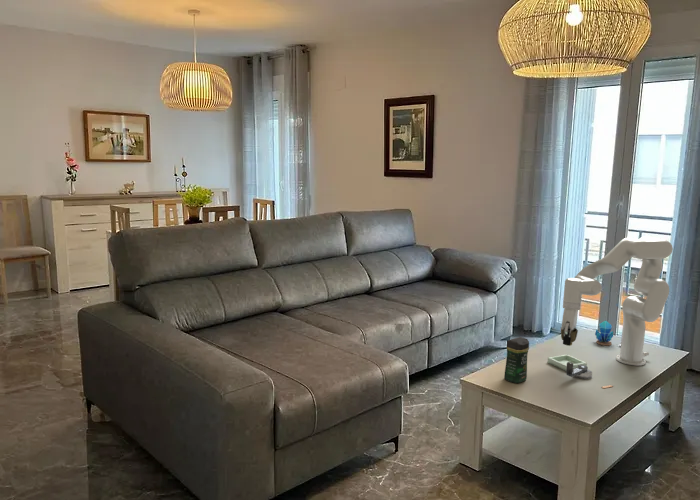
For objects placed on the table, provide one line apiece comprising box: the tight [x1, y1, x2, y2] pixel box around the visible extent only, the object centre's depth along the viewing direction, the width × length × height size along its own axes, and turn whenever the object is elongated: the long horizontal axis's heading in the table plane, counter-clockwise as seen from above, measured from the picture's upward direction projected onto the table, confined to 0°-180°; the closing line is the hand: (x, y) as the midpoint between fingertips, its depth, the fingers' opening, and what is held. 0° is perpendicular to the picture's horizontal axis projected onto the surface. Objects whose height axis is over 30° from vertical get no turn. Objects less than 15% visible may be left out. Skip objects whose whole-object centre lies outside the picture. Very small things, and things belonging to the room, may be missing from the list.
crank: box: [565, 362, 589, 378], centre depth 236 cm, size 14×4×6 cm, turn 128°
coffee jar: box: [503, 336, 530, 384], centre depth 233 cm, size 10×8×19 cm
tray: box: [547, 354, 588, 372], centre depth 252 cm, size 12×12×2 cm
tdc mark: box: [601, 384, 613, 389], centre depth 228 cm, size 5×1×1 cm, turn 113°
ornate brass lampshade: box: [560, 327, 579, 347], centre depth 250 cm, size 8×7×8 cm
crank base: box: [573, 368, 593, 380], centre depth 240 cm, size 8×8×2 cm
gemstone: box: [594, 320, 614, 347], centre depth 283 cm, size 7×9×12 cm
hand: (568, 342), depth 250 cm, fingers closed on ornate brass lampshade, 6 cm apart
